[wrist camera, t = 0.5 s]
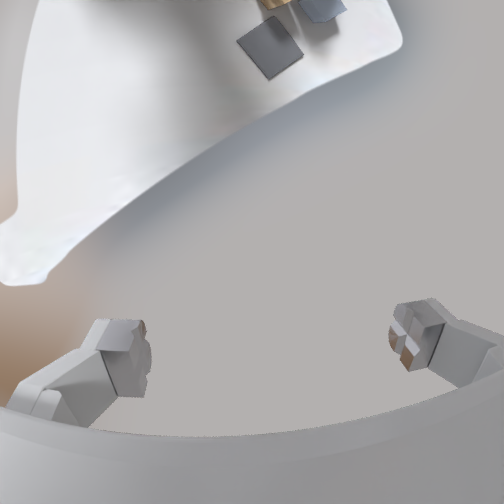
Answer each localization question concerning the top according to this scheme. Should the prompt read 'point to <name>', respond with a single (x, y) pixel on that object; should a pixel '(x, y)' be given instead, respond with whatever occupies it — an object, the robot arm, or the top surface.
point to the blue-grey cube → (322, 9)
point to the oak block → (273, 3)
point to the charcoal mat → (270, 47)
